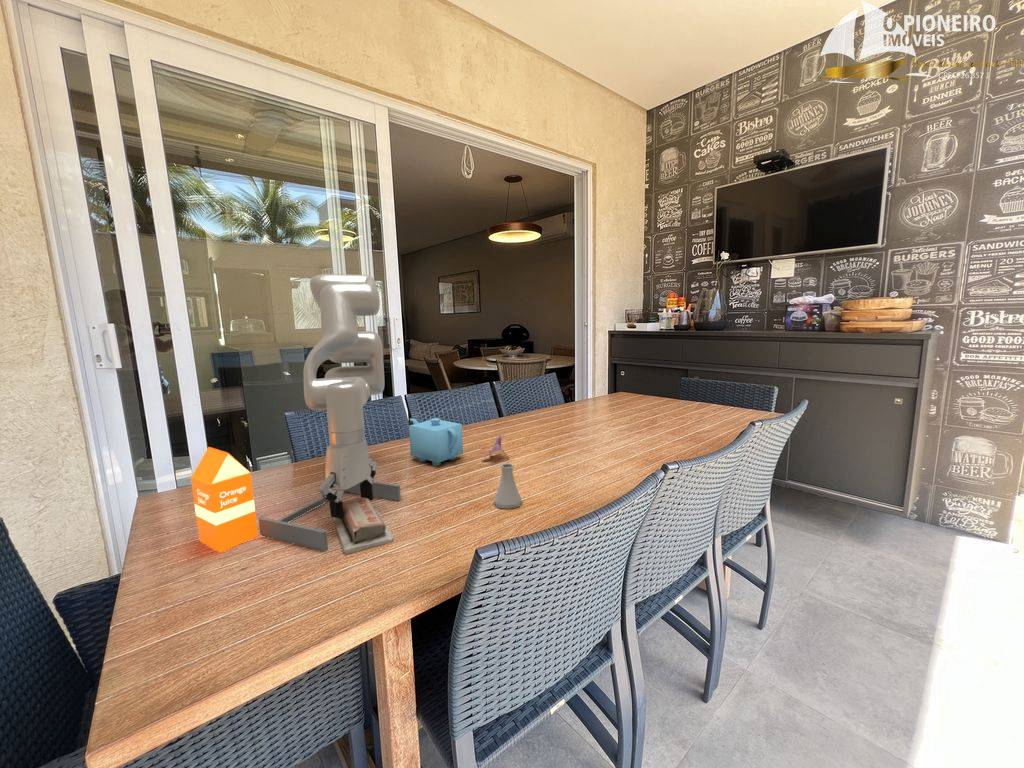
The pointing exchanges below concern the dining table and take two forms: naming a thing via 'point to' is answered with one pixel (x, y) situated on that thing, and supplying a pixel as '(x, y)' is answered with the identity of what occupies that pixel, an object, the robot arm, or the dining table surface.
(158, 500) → the dining table surface
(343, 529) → the packaged product
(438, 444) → the teapot
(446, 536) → the dining table surface
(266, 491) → the dining table surface
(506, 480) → the flask
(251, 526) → the orange juice
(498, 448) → the lily
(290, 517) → the grey twin-plate frame
